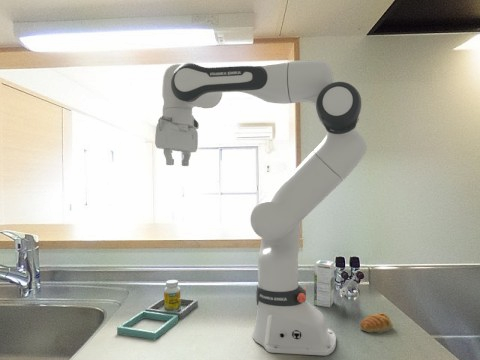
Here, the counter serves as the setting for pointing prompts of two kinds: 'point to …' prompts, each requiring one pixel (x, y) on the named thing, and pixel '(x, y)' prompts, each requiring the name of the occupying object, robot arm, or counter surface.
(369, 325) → the pastry
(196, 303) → the bin
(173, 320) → the bin
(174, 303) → the supplement bottle
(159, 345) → the counter surface
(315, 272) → the syrup box
